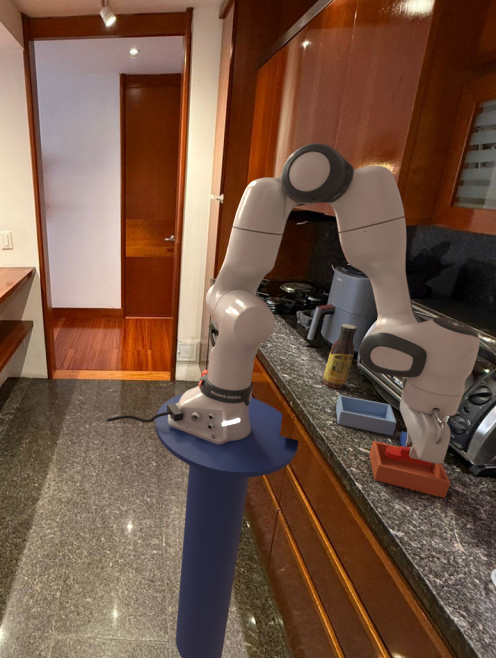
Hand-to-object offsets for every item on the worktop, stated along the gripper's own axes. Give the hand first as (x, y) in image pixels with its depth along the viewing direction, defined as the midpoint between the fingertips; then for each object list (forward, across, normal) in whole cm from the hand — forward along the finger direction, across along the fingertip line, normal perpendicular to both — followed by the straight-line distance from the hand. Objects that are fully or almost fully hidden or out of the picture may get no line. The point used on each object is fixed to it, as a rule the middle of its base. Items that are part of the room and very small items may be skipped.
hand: (411, 453), depth 83 cm
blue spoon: (+6, +10, -2) cm, 12 cm away
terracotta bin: (+6, 0, 0) cm, 6 cm away
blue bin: (+6, +20, +6) cm, 22 cm away
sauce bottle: (+6, +39, +12) cm, 41 cm away
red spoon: (+2, 0, 0) cm, 2 cm away
